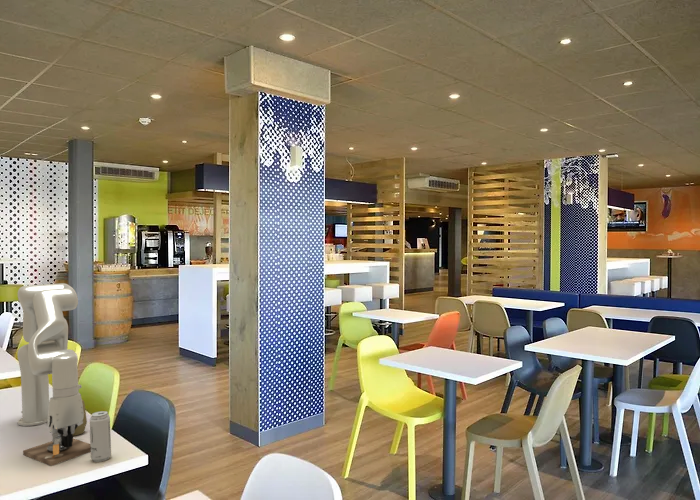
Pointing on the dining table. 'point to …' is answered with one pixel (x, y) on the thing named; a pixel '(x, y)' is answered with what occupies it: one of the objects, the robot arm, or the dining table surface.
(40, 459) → the walnut stand
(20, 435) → the dining table surface
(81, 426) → the squeeze bottle
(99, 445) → the energy drink can
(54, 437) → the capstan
